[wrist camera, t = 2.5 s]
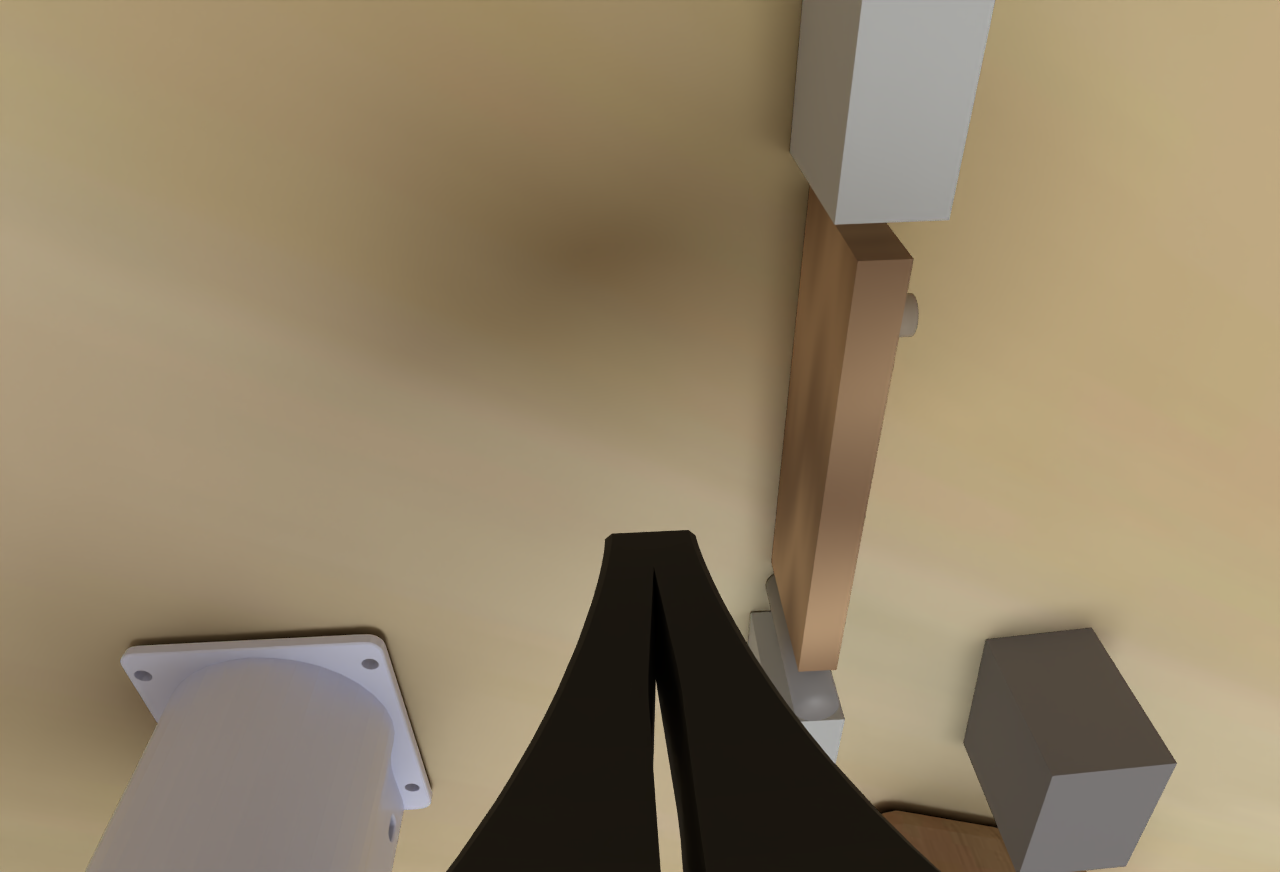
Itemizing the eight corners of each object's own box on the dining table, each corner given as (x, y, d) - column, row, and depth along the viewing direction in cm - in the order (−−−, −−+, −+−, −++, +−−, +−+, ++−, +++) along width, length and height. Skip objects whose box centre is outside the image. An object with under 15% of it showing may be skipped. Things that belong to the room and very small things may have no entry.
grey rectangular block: (1056, 731, 31) (1125, 866, 27) (962, 741, 31) (1018, 876, 27) (1090, 625, 27) (1177, 763, 23) (984, 637, 27) (1052, 776, 23)
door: (830, 559, 25) (866, 668, 21) (771, 562, 25) (798, 671, 21) (891, 181, 18) (957, 257, 15) (809, 184, 18) (858, 261, 15)
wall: (796, 719, 29) (824, 840, 26) (741, 722, 29) (761, 844, 26) (935, -196, 14) (1051, -207, 10) (818, -193, 14) (896, -203, 10)
